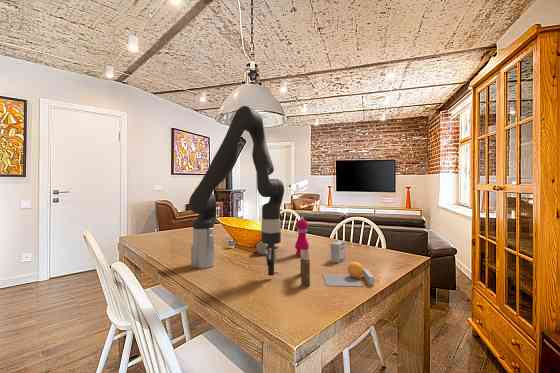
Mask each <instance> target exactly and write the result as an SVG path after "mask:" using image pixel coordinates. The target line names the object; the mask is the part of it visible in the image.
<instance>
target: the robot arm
mask: <svg viewBox="0 0 560 373" xmlns="http://www.w3.org/2000/svg"><path fill="white" fill-rule="evenodd" d="M245 131H246V132H247V133H249V135H250V138H251V139H252V140H251V141H252V151H251V152H252V153H251V156H252V161H253V164H254V168H255V171H256V189H257V192H258V194H259V195H260V196H262V198H269V200H268V202H267V203H264V204H263V205H262V207H261V224H260V225H261V227H260V228H261V232H260V233H261V235H260V236H261V241H260V242H262V243H264V244H267V245H268V246H267V247H266V255H265V257H266V266H267V274H268V275H267V276H269V277H271V276H272V277H273V276H274V274H275V263H276V262H275V261H276V256H277V250H276V247H275V246H276V245H279V244H280V243H281V242H282V238H281V237H282V235H281V234H282V224H281V223H282V222H281V206H282V203H283V199H284V195H285V186H284V185H285V184H284V183H283V181H282V180H281V179H278V178H270V177H269V176H270V175H272V174H273V172H274V171H275V168H274V164H273V162H272V159H271V155H270V152H269V149H268V146H267V145H268V144H267V140H266V134H265V128H264V121H263V117H262V115H261V114H260V113H259V112H258V111H257V110H255V109H253V108H251V107H249V106H248V105H242V106H240V107H239V108H238V109H237V110H236V111H235V113H234V114H233V117H232V119H231V123H230V124H229V126H228V129H227V131H226V134H225V137H224V138H223V140H222V142H221V144H220V147H219V148H218V149H217V151H216V153H215V155H214V157H213V158H212V160H211V163H210V164H209V166H208V168H207V170H206V172H205V173H204V175H203V177H202V179H201V181H200V182H199V184H198V185H197V186H196V188H195V190H194V191H193V192H192V193H191V195H190V197H189V200H188V206H189V210H190V211H191V212H193V213H194V214H198V215H197V218H196V219H195V220H193V222H192V245H191V246H190V268H195V269H208V268H211V267H214V266H215V222H216V220H217V200H216V197H215V195H214V194H213V193H214V191H215V189H216V188H217V187H218V186H219V185H221V183H222V182H224V181H225V180H226V178H228V176H229V175H230V174H231V172H232V171H233V169H234V167H235V165H236V164H237V162H238V158H239V157H238V156H239V154H238V153H239V143H240V139H241V137H242V135H243V134H244V132H245Z"/></svg>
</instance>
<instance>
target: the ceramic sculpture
mask: <svg viewBox="0 0 560 373" xmlns="http://www.w3.org/2000/svg"><path fill="white" fill-rule="evenodd" d="M267 246H268V245H267V244H264V243H262V242H261V241H260V242H258V243H257V245H256V247H255V248H256V253H258V254H259V255H261V256H264V255H265V256H266V247H267ZM275 247H276V251H277V249H279V246H278V245H277V246H276V245H275Z"/></svg>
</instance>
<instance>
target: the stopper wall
mask: <svg viewBox="0 0 560 373" xmlns="http://www.w3.org/2000/svg"><path fill="white" fill-rule="evenodd" d="M362 278H363V279H364V280H365V282H366V283H367V284H368V285H369V286H375V277H374V275H373V274H372V273H371V272H370V271H369V270H368V269H367V268H363V274H362Z"/></svg>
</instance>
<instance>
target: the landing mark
mask: <svg viewBox="0 0 560 373" xmlns="http://www.w3.org/2000/svg"><path fill="white" fill-rule="evenodd" d="M322 277H323V280H324V283H325V286H326V287H357V288H358V287H363V286H364V285H363V283H361V281H360V279H359V277H358V278H354V277H351V276H350V275H349V273H337V274H336V273H323V274H322Z"/></svg>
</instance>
